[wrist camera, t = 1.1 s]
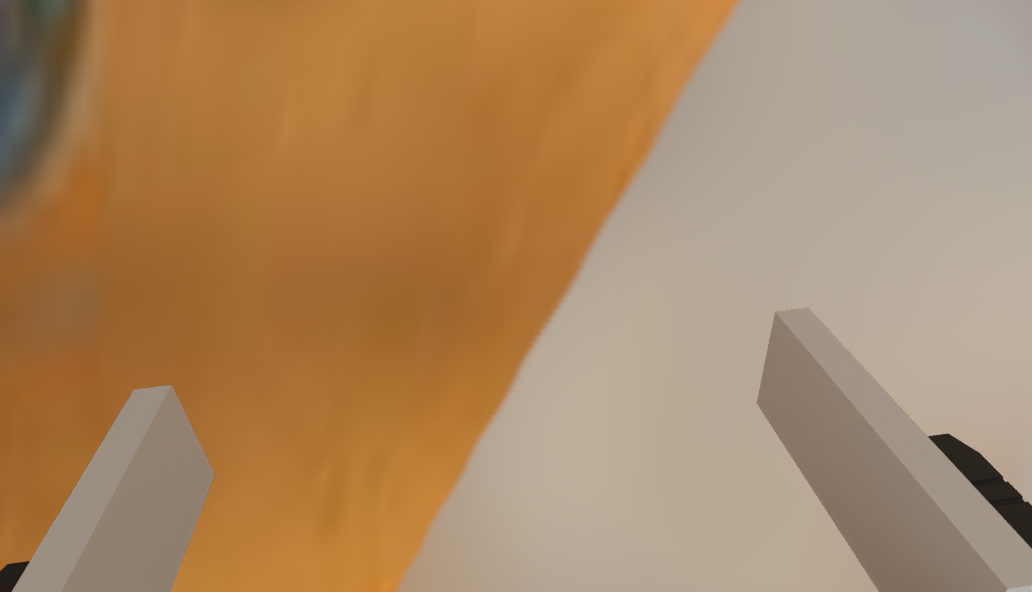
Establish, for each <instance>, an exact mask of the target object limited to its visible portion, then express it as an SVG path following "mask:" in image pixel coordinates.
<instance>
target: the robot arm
mask: <svg viewBox="0 0 1032 592" xmlns="http://www.w3.org/2000/svg"><path fill="white" fill-rule="evenodd" d="M757 404H758V406H759V407H760V409H761V410H762V412H763V413H764V415H765V417H766V418H767V420H768V421H769V423H770V424H771V426H772V427H773V429H774V430H775V432H776V434H777V435H778V437H779V438H780V440H781V441H782V443H783V444H784V446H785V447H786V449H787V451H788V452H789V454H790V455H791V457H792V458H793V460H794V461H795V463H796V464H797V466H798V468H799V469H800V471H801V472H802V474H803V475H804V477H805V478H806V480H807V481H808V483H809V485H810V486H811V487H812V489H813V491H814V492H815V494H816V495H817V497H818V498H819V500H820V501H821V503H822V505H823V506H824V508H825V509H826V511H827V512H828V514H829V515H830V517H831V518H832V520H833V522H834V523H835V525H836V526H837V528H838V529H839V531H840V532H841V534H842V535H843V537H844V538H845V540H846V542H847V543H848V545H849V546H850V548H851V549H852V551H853V552H854V554H855V555H856V557H857V559H858V560H859V562H860V563H861V565H862V566H863V568H864V569H865V571H866V572H867V574H868V575H869V577H870V579H871V580H872V582H873V583H874V585H875V586H876V588H877V589H878V591H879V592H1032V505H1030V503H1029V502H1024V501H1023V499H1022V496H1021V494H1020V493H1019V492H1018V491H1017V490H1016V489H1015V488H1014V487H1013V486H1012V485H1010V483H1009V482H1005V481H1004V480H1003V476H1002V475H1001V474H1000V473H999V472H998V471H997V470H996V469H995V468H994V467H993V466H992V465H991V464H990V463H989V462H988V461H987V460H986V459H985V458H984V457H983V456H982V455H981V454H980V453H979V452H977V451H975V450H974V449H972V448H970V447H969V446H967V445H966V444H964V443H962V442H961V441H959V440H958V439H956V438H954V437H953V436H951V435H950V434H942V435H934V436H927V435H926V434H925V433H924V432H923V431H922V430H921V429H920V428H919V427H918V426H917V424H916V423H915V422H914V421H913V420H912V419H911V418H910V417H909V416H908V415H907V414H906V413H905V411H904V410H903V409H902V408H901V407H900V406H899V405H898V404H897V403H896V402H895V401H894V400H893V399H892V397H891V396H890V395H889V394H888V393H887V392H886V391H885V390H884V389H883V388H882V387H881V386H880V385H879V383H878V382H877V381H876V380H875V379H874V378H873V377H872V376H871V375H870V374H869V373H868V372H867V371H866V369H865V368H864V367H863V366H862V365H861V364H860V363H859V362H858V361H857V360H856V359H855V358H854V357H853V356H852V354H851V353H850V352H849V351H848V350H847V349H846V348H845V347H844V346H843V345H842V344H841V342H840V341H839V340H838V339H837V338H836V337H835V336H834V335H833V334H832V333H831V332H830V331H829V329H828V328H827V327H826V326H825V325H824V324H823V323H822V322H821V321H820V320H819V319H818V318H817V317H816V315H814V313H813V312H812V311H811V310H810V309H809V308H801V309H793V310H785V311H776V312H775V315H774V321H773V325H772V330H771V335H770V340H769V345H768V350H767V355H766V360H765V365H764V370H763V375H762V380H761V385H760V390H759V395H758V400H757ZM214 475H215V474H214V472H213V470H212V467H211V465H210V463H209V461H208V459H207V457H206V455H205V453H204V451H203V449H202V447H201V445H200V443H199V441H198V439H197V436H196V434H195V432H194V430H193V428H192V426H191V424H190V422H189V420H188V418H187V416H186V414H185V412H184V410H183V408H182V405H181V403H180V401H179V399H178V397H177V395H176V393H175V391H174V389H173V387H172V385H167V386H159V387H151V388H143V389H134V390H133V392H132V394H131V395H130V397H129V399H128V400H127V402H126V404H125V405H124V407H123V409H122V410H121V412H120V413H119V415H118V417H117V418H116V420H115V422H114V423H113V425H112V427H111V428H110V430H109V432H108V433H107V435H106V437H105V438H104V440H103V442H102V443H101V445H100V447H99V448H98V450H97V451H96V453H95V455H94V456H93V458H92V460H91V461H90V463H89V465H88V466H87V468H86V470H85V471H84V473H83V475H82V476H81V478H80V480H79V481H78V483H77V485H76V486H75V488H74V490H73V491H72V493H71V494H70V496H69V498H68V499H67V501H66V503H65V504H64V506H63V508H62V509H61V511H60V513H59V514H58V516H57V518H56V519H55V521H54V523H53V524H52V526H51V528H50V529H49V531H48V533H47V534H46V536H45V537H44V539H43V541H42V542H41V544H40V546H39V547H38V549H37V551H36V552H35V554H34V556H33V557H32V559H31V561H27V562H20V563H13V564H7V565H6V566H5V567H4V568H3V569H2V570H1V571H0V592H171V590H172V587H173V584H174V582H175V579H176V576H177V574H178V571H179V568H180V566H181V563H182V560H183V558H184V555H185V552H186V550H187V547H188V544H189V542H190V539H191V536H192V534H193V531H194V528H195V526H196V523H197V520H198V518H199V515H200V512H201V510H202V507H203V504H204V502H205V499H206V496H207V494H208V491H209V488H210V486H211V483H212V480H213V478H214Z"/></svg>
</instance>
